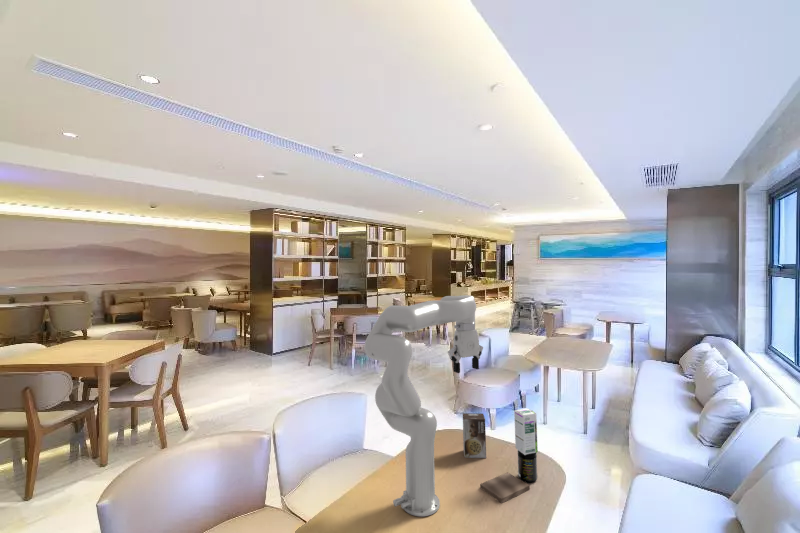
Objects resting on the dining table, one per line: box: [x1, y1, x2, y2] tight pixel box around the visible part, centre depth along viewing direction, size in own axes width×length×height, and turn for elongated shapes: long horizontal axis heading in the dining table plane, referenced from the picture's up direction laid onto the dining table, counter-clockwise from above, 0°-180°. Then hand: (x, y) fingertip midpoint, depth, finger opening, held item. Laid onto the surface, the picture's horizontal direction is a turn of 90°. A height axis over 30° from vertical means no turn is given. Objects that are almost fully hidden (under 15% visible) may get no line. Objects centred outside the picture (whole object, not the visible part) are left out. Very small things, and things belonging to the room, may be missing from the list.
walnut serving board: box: [479, 472, 531, 504], centre depth 128 cm, size 14×10×2 cm
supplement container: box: [517, 450, 538, 484], centre depth 134 cm, size 7×7×10 cm
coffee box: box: [462, 412, 487, 459], centre depth 153 cm, size 9×6×16 cm
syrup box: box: [513, 408, 538, 455], centre depth 134 cm, size 6×6×14 cm
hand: (466, 370), depth 142 cm, fingers open, 9 cm apart
